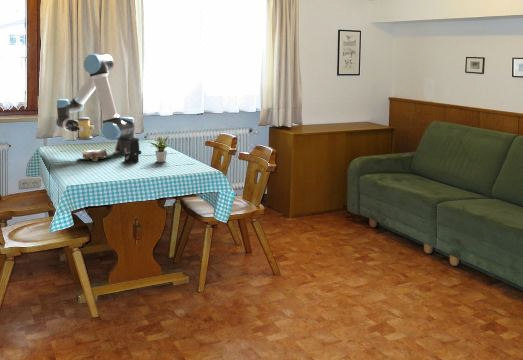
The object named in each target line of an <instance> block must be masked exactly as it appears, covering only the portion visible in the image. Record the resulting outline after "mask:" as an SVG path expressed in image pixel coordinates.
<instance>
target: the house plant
mask: <svg viewBox="0 0 523 360" xmlns="http://www.w3.org/2000/svg"><path fill="white" fill-rule="evenodd" d="M169 139H170V135H169V136H168V135H167V136H164V137H162V135H157V136H156V135H155V138H154V137H152V140H153V141H154V142H155V143H154V142H149V141H148V142H147V143H149V144H150V148H151V147H154V148H155V149H156V150H155V151H154V152H155V157H156V161H157V163H164V162H167V154H168V150H165V149H166V148H167V147H169V146H171V145H170V144H166V143H167V141H169Z"/></svg>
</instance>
